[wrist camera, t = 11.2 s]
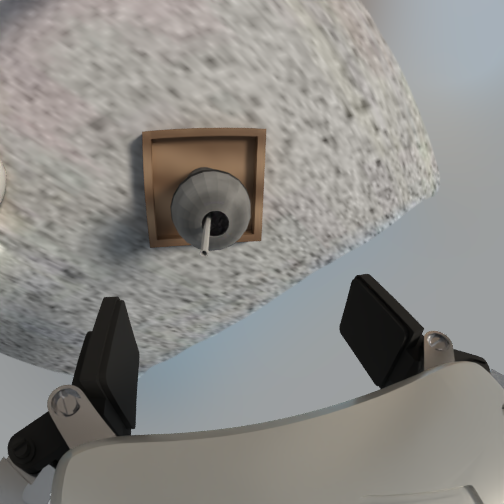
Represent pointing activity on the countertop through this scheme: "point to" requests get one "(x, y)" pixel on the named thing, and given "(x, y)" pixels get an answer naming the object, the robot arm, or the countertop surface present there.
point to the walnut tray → (195, 156)
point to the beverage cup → (210, 209)
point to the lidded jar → (2, 180)
